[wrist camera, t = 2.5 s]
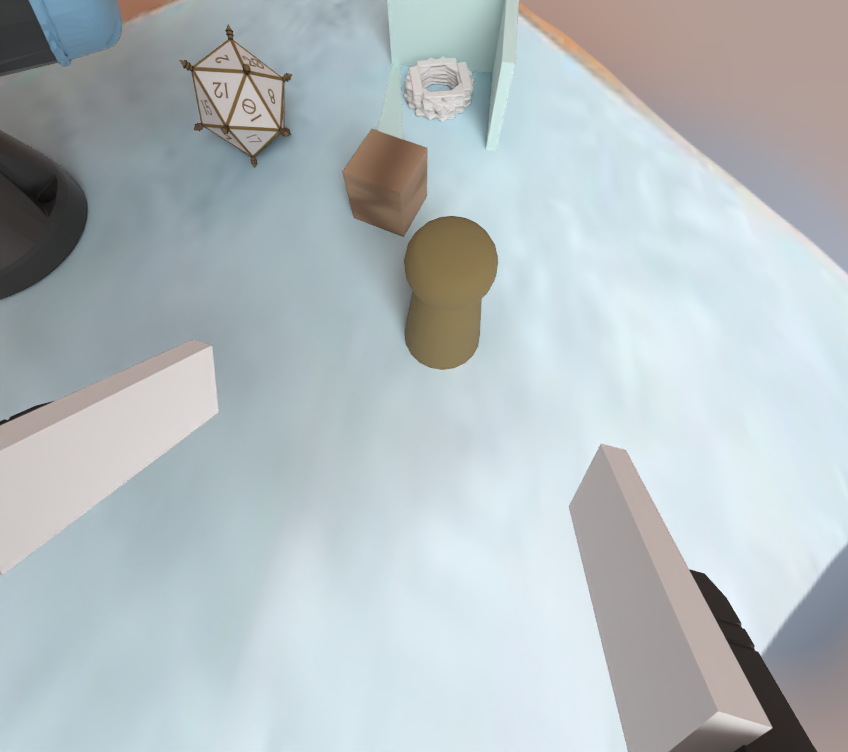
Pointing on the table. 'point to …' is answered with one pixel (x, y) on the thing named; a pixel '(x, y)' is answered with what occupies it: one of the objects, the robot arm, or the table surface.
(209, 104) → the game die
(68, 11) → the robot arm
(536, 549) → the table surface
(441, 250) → the cork
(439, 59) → the l-shaped corner panel
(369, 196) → the walnut block
